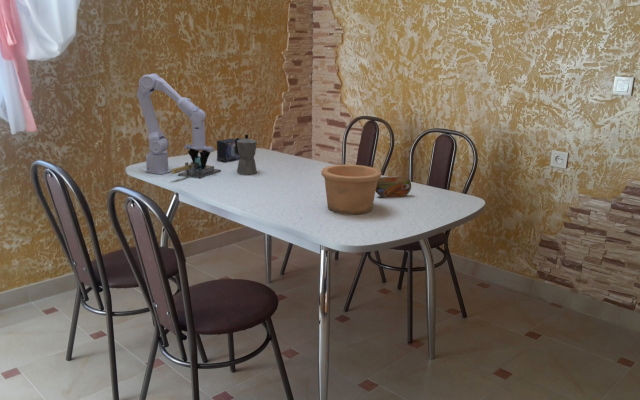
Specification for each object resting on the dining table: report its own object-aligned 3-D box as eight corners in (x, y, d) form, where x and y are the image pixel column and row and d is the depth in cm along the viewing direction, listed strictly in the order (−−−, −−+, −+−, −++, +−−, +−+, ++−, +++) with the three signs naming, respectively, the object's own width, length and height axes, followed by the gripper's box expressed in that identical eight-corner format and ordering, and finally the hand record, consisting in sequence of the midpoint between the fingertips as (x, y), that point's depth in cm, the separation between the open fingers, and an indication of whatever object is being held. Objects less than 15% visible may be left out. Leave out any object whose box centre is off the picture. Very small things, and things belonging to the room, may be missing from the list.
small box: (225, 162, 274) (224, 142, 271) (216, 161, 277) (215, 140, 275) (240, 159, 282) (240, 139, 279) (231, 158, 286) (231, 138, 283)
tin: (376, 198, 217) (377, 177, 215) (373, 196, 220) (374, 176, 218) (410, 196, 221) (412, 176, 219) (407, 194, 224) (409, 174, 222)
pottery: (343, 197, 218) (345, 161, 214) (390, 208, 204) (393, 170, 200) (308, 208, 202) (309, 170, 198) (356, 221, 188) (358, 181, 184)
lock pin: (170, 173, 233) (170, 168, 233) (192, 167, 247) (192, 161, 246) (175, 174, 232) (175, 169, 232) (197, 167, 246) (197, 162, 245)
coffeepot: (263, 174, 252) (263, 135, 247) (247, 177, 246) (246, 137, 241) (244, 168, 263) (243, 131, 258) (227, 170, 256) (226, 133, 252)
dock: (178, 175, 246) (177, 161, 244) (199, 168, 260) (199, 155, 258) (200, 178, 241) (199, 164, 239) (220, 171, 255) (220, 158, 253)
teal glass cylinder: (193, 170, 248) (192, 157, 247) (198, 168, 252) (197, 155, 250) (201, 171, 247) (200, 158, 246) (205, 169, 251) (205, 156, 249)
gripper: (180, 136, 245) (181, 165, 249) (206, 139, 239) (207, 169, 243) (189, 134, 251) (190, 163, 255) (216, 137, 246) (216, 166, 249)
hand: (199, 166), depth 249 cm, fingers closed on teal glass cylinder, 4 cm apart
